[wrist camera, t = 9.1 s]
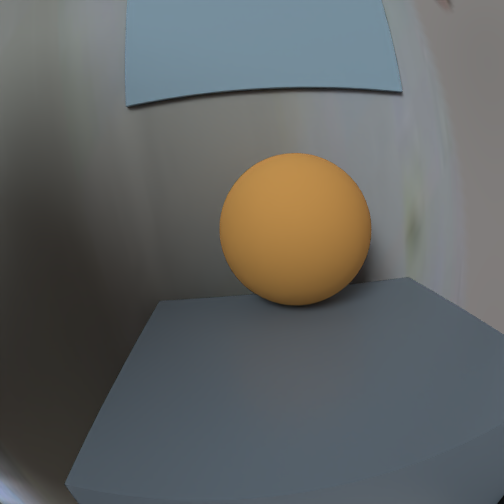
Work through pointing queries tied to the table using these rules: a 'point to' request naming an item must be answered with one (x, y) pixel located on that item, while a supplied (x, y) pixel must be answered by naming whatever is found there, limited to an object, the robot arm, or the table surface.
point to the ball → (295, 229)
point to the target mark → (255, 47)
